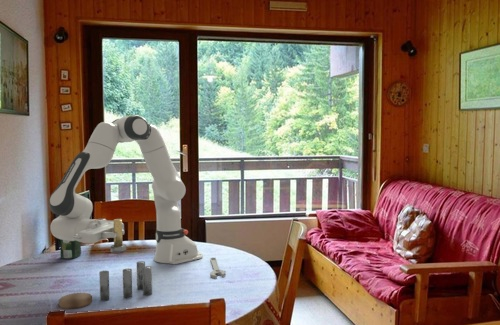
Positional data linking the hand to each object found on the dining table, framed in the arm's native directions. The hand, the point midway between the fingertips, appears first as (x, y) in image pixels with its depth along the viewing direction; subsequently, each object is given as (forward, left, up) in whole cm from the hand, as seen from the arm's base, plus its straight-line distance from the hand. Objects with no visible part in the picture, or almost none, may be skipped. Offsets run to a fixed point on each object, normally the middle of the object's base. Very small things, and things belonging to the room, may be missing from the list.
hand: (120, 233), depth 163 cm
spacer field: (-2, +5, -22) cm, 23 cm away
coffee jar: (+14, -56, -22) cm, 61 cm away
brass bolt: (+1, -1, -7) cm, 7 cm away
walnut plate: (+17, +4, -22) cm, 28 cm away
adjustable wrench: (-42, -8, -22) cm, 48 cm away
